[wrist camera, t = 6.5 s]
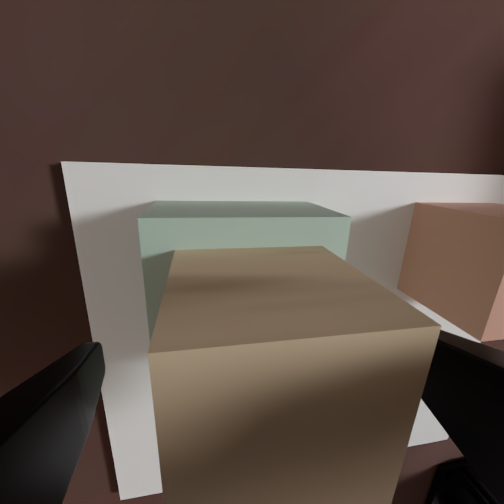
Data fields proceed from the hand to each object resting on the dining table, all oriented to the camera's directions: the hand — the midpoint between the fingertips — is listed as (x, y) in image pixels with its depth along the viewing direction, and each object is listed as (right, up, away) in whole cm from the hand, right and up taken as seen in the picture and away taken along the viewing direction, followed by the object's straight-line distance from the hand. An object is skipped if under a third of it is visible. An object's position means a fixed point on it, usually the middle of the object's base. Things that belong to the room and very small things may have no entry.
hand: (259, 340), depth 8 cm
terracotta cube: (+11, +3, +7) cm, 13 cm away
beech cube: (0, 0, +2) cm, 2 cm away
